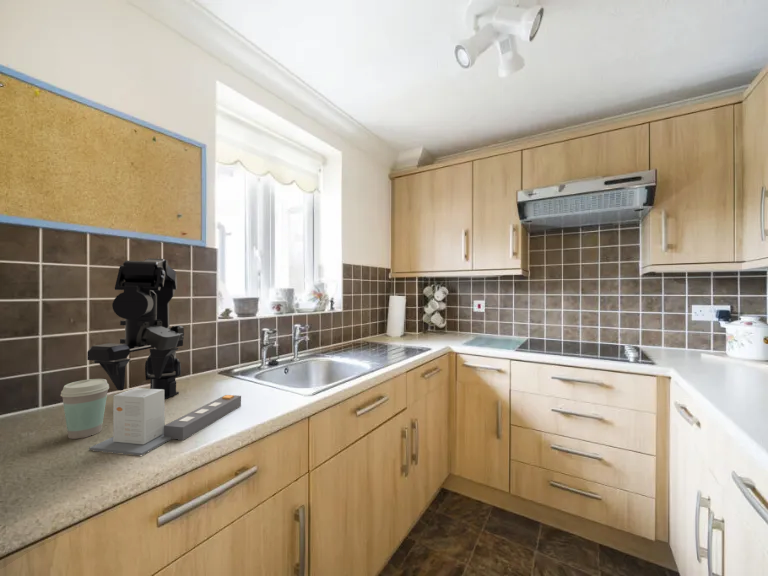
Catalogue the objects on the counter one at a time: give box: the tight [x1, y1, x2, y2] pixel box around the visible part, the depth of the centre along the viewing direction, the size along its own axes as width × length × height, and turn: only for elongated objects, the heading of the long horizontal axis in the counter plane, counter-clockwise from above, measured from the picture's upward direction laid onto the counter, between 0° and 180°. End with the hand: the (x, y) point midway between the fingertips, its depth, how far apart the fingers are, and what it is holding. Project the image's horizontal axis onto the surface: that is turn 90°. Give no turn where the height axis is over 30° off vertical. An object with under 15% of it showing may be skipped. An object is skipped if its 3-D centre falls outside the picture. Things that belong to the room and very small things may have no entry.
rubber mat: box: [88, 434, 172, 456], centre depth 72 cm, size 13×11×1 cm
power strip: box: [164, 394, 242, 441], centre depth 84 cm, size 5×22×4 cm, turn 171°
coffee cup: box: [60, 378, 110, 440], centre depth 76 cm, size 8×8×12 cm
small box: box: [112, 387, 166, 445], centre depth 72 cm, size 8×6×10 cm
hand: (140, 383), depth 72 cm, fingers open, 9 cm apart
